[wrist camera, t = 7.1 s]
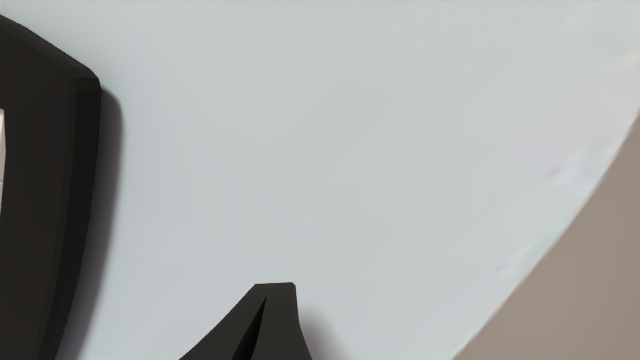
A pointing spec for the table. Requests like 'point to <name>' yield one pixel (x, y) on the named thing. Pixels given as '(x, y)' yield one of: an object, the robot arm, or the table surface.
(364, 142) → the table surface
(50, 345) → the light switch
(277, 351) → the robot arm
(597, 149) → the table surface
